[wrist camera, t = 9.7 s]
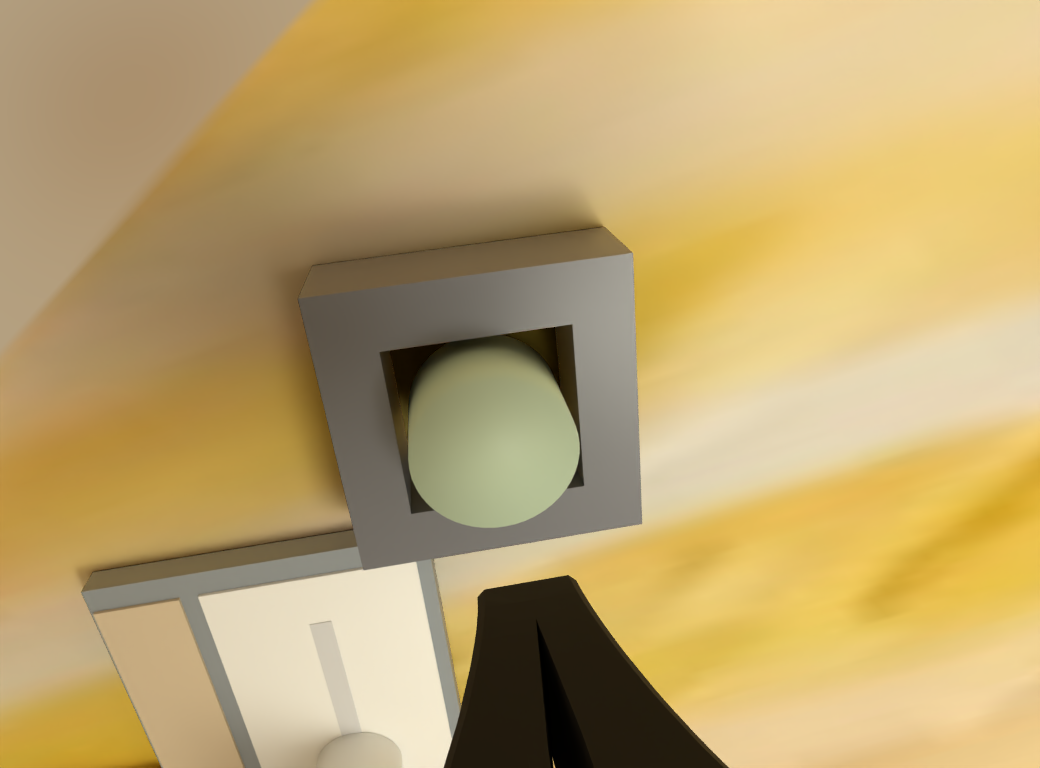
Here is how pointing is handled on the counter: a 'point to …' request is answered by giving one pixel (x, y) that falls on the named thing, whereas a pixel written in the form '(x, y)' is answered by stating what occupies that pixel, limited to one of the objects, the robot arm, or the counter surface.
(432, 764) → the board
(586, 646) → the robot arm
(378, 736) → the marker teal
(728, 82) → the counter surface
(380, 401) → the button housing
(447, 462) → the button
